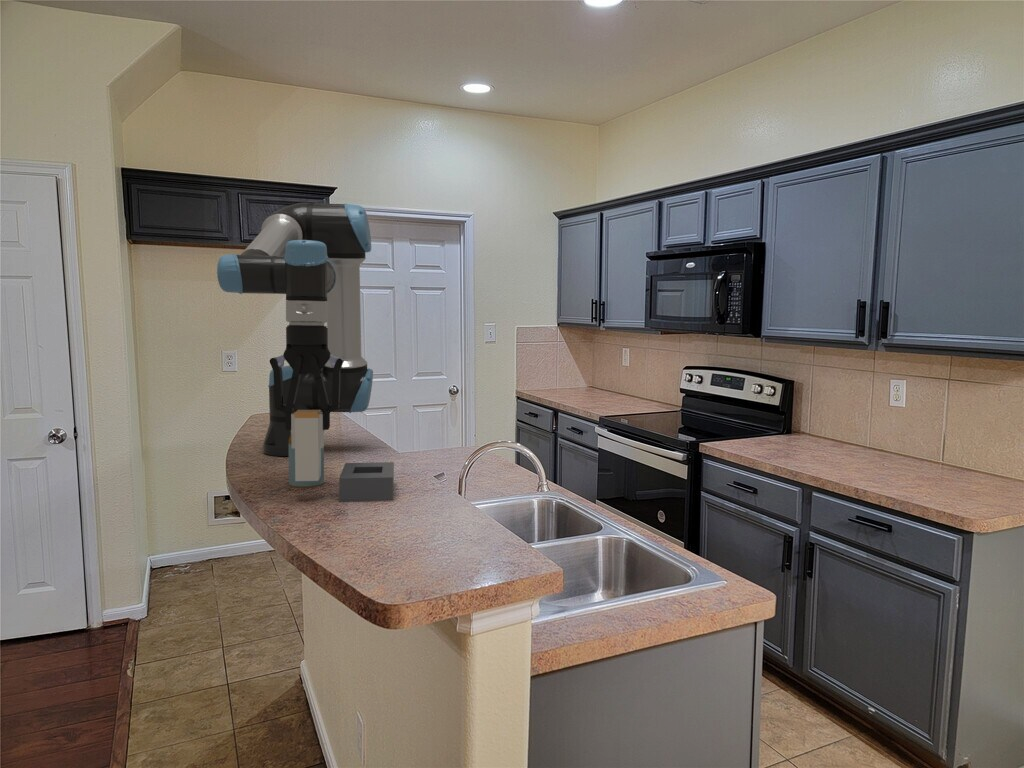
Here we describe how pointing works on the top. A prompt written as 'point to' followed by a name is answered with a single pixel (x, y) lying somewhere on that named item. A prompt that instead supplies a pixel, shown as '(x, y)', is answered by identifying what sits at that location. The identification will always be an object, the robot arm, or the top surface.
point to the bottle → (292, 471)
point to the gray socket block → (366, 482)
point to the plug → (307, 446)
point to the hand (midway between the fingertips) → (308, 446)
